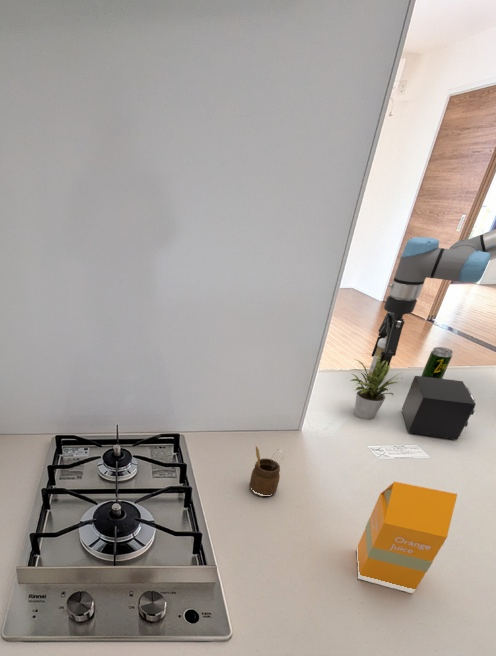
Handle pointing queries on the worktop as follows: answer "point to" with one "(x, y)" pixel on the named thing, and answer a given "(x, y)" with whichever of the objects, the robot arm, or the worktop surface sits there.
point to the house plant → (371, 391)
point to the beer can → (437, 362)
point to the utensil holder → (265, 475)
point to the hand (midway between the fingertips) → (378, 365)
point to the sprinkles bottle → (378, 352)
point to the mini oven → (438, 407)
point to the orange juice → (405, 533)
